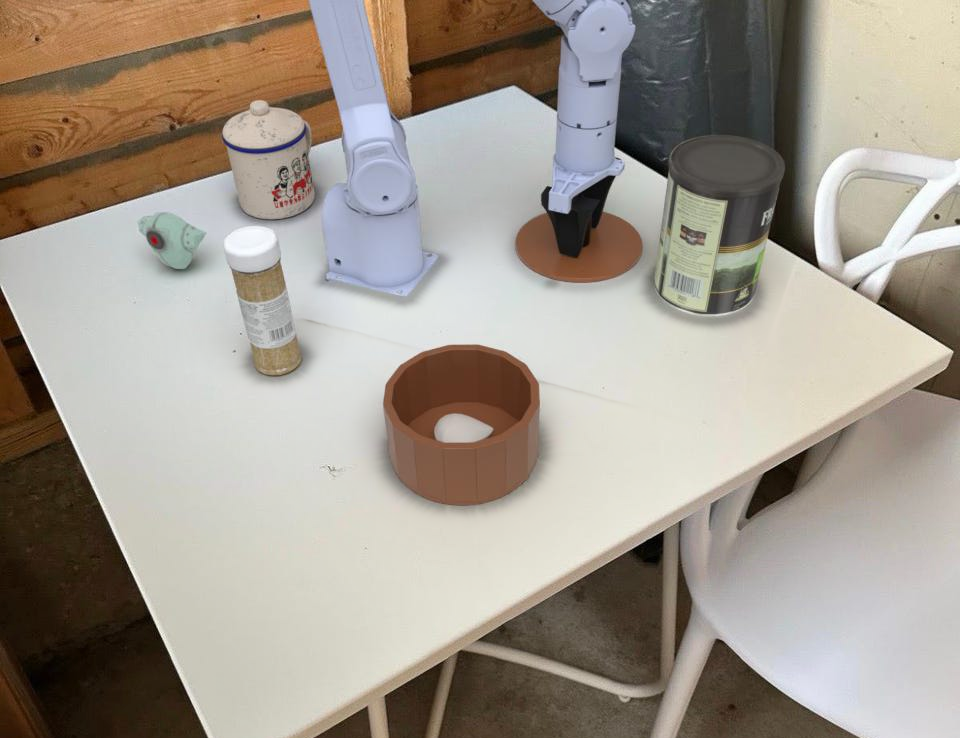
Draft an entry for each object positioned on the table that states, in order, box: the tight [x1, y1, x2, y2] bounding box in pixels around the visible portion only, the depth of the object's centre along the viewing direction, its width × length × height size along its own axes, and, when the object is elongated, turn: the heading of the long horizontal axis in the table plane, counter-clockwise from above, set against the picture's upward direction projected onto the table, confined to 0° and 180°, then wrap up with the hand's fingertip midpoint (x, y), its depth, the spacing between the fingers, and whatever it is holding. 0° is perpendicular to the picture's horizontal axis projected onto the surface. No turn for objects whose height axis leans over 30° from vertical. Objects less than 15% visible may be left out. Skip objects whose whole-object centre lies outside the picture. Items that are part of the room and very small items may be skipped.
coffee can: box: [653, 134, 786, 317], centre depth 89 cm, size 10×10×14 cm
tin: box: [382, 343, 541, 506], centre depth 76 cm, size 12×12×6 cm
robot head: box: [137, 211, 207, 270], centre depth 96 cm, size 8×4×7 cm, turn 65°
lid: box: [515, 211, 643, 284], centre depth 97 cm, size 13×13×4 cm
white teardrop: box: [434, 413, 493, 443], centre depth 77 cm, size 4×5×2 cm
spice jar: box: [222, 225, 303, 376], centre depth 82 cm, size 5×5×13 cm
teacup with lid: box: [221, 99, 316, 220], centre depth 104 cm, size 12×9×12 cm
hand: (578, 239), depth 98 cm, fingers open, 5 cm apart
